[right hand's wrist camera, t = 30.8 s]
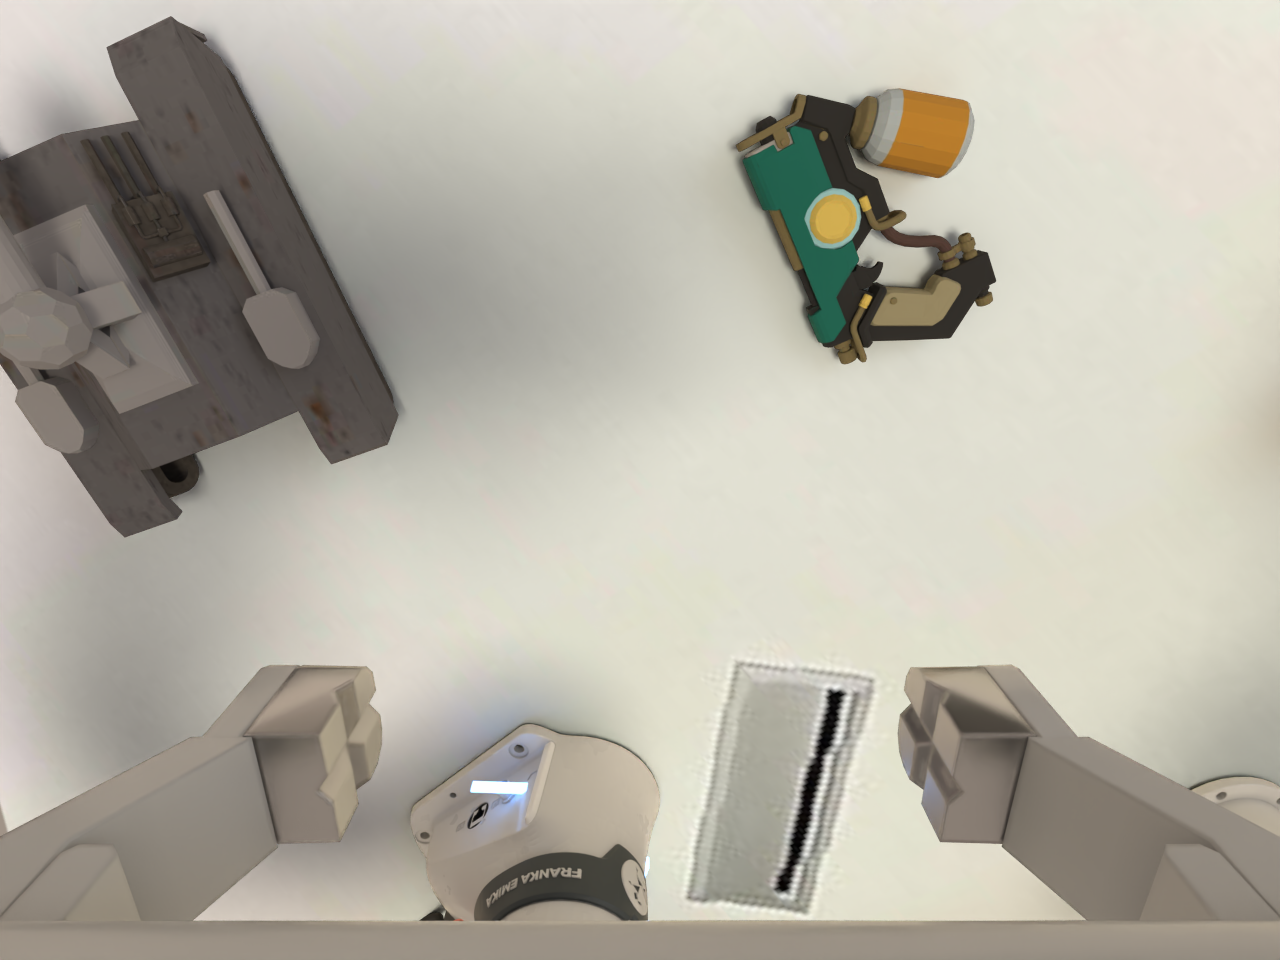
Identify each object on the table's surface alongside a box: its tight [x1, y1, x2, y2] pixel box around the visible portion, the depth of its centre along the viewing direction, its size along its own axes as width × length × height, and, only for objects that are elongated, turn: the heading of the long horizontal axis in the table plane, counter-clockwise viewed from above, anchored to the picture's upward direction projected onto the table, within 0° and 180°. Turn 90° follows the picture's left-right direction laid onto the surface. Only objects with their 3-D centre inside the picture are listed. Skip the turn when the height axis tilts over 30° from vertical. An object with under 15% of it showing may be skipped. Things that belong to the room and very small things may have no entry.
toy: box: [0, 16, 398, 537], centre depth 40 cm, size 25×20×15 cm
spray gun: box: [736, 89, 996, 364], centre depth 44 cm, size 4×17×15 cm
